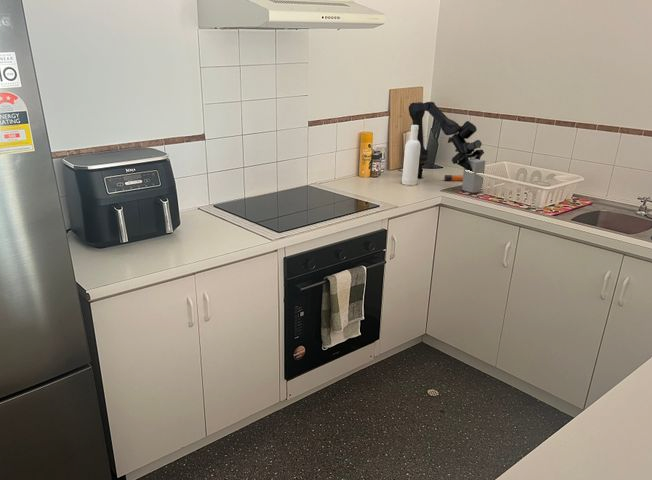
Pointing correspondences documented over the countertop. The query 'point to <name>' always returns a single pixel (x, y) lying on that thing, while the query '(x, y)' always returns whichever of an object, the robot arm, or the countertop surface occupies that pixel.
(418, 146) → the bottle
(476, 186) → the cosmetic box
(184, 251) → the countertop surface
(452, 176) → the orange marker
